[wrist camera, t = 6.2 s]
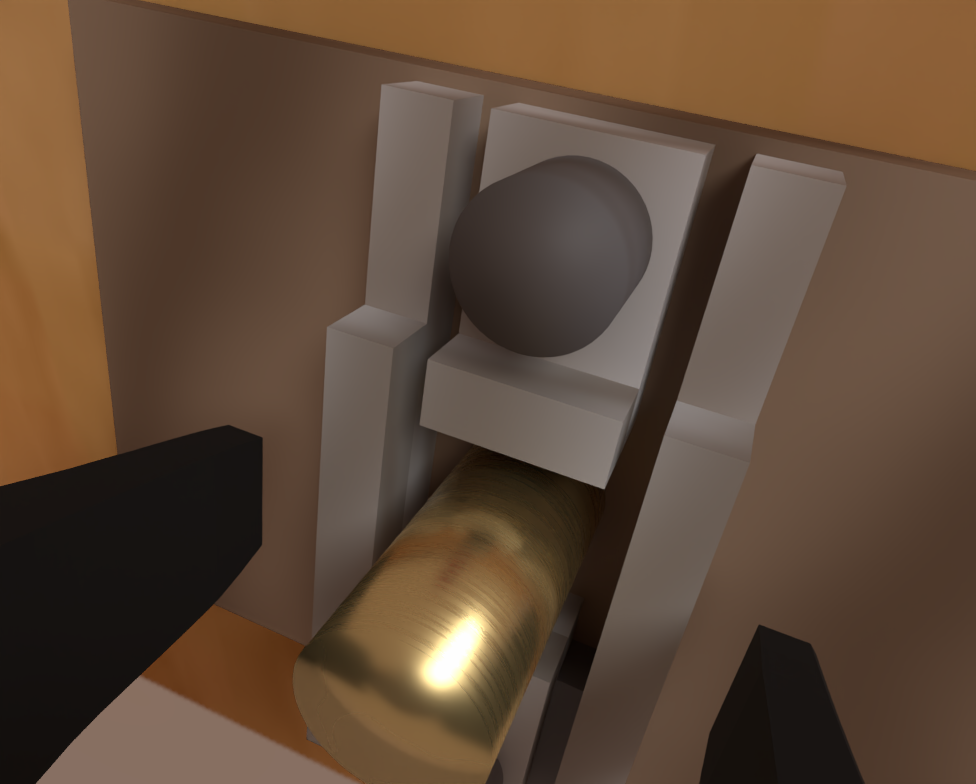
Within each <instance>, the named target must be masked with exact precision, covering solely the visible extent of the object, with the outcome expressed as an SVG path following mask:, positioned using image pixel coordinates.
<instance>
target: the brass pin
mask: <svg viewBox="0 0 976 784" xmlns="http://www.w3.org/2000/svg"><path fill="white" fill-rule="evenodd" d="M605 501H606V493H605V489H602V488H599V487H596V486H593V485H590V484H587V483H584V482H581V481H579V480H576V479H573V478H570V477H567V476H564V475H561V474H559V473H556V472H553V471H550V470H547V469H544V468H541V467H538V466H536V465H533V464H530V463H527V462H524V461H521V460H518V459H515V458H513V457H510V456H507V455H504V454H501V453H498V452H495V451H492V450H490V449H487V448H484V447H481V446H478V445H475V444H474V445H473V446H472V448H471V449H470V450H469V451H468V452H467V454H466V455H465V456H464V457H463V458H462V460H461V461H460V462H459V463H458V464H457V466H456V467H455V468H454V469H453V470H452V472H451V473H450V474H449V475H448V476H447V478H446V479H445V480H444V481H443V482H442V484H441V485H440V486H439V487H438V488H437V490H436V491H435V492H434V493H433V494H432V496H431V497H430V498H429V499H428V500H427V502H426V503H425V504H424V505H423V506H422V508H421V509H420V510H419V511H418V512H417V514H416V515H415V516H414V517H413V518H412V520H411V521H410V522H409V523H408V524H407V525H406V527H405V528H404V529H403V530H402V531H401V533H400V534H399V535H398V536H397V537H396V539H395V540H394V541H393V542H392V543H391V545H390V546H389V547H388V548H387V549H386V551H385V552H384V553H383V554H382V555H381V557H380V558H379V559H378V560H377V561H376V563H375V564H374V565H373V566H372V567H371V569H370V570H369V571H368V572H367V573H366V575H365V576H364V577H363V578H362V579H361V581H360V582H359V583H358V584H357V585H356V587H355V588H354V589H353V590H352V591H351V593H350V594H349V595H348V596H347V597H346V599H345V600H344V601H343V602H342V603H341V605H340V606H339V607H338V608H337V609H336V611H335V612H334V613H333V614H332V615H331V617H330V618H329V619H328V620H327V621H326V623H325V624H324V625H323V626H322V627H321V629H320V630H319V631H318V632H317V633H316V634H315V636H314V637H313V638H312V639H311V640H310V642H309V643H308V644H307V645H306V646H305V648H304V649H303V650H302V652H301V653H300V655H299V656H298V658H297V660H296V663H295V666H294V671H293V689H294V695H295V699H296V702H297V705H298V708H299V710H300V713H301V715H302V717H303V719H304V721H305V723H306V725H307V726H308V728H309V729H310V731H311V732H312V734H313V735H314V737H315V738H316V739H317V741H318V742H319V743H320V744H321V746H322V747H323V748H324V749H325V750H326V751H327V752H328V753H329V754H330V755H331V756H332V757H333V758H334V759H335V760H336V761H337V762H338V763H339V764H340V765H341V766H342V767H344V768H345V769H346V770H347V771H349V772H350V773H351V774H353V775H354V776H356V777H357V778H358V779H360V780H361V781H363V782H365V783H366V784H485V783H486V781H487V779H488V776H489V774H490V772H491V770H492V767H493V765H494V763H495V760H496V758H497V756H498V753H499V751H500V749H501V747H502V744H503V742H504V740H505V737H506V735H507V733H508V731H509V728H510V726H511V724H512V721H513V719H514V717H515V715H516V712H517V710H518V708H519V705H520V703H521V701H522V699H523V696H524V694H525V692H526V689H527V687H528V685H529V683H530V680H531V678H532V676H533V673H534V671H535V669H536V666H537V664H538V662H539V660H540V657H541V655H542V653H543V650H544V648H545V646H546V644H547V641H548V639H549V637H550V634H551V632H552V630H553V628H554V625H555V623H556V621H557V618H558V616H559V614H560V612H561V609H562V607H563V605H564V602H565V600H566V598H567V596H568V593H569V591H570V589H571V586H572V584H573V582H574V579H575V577H576V575H577V573H578V570H579V568H580V566H581V563H582V561H583V559H584V557H585V554H586V552H587V550H588V547H589V545H590V543H591V541H592V538H593V536H594V534H595V531H596V529H597V527H598V525H599V522H600V520H601V518H602V515H603V512H604V508H605Z"/></svg>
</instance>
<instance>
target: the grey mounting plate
mask: <svg viewBox="0 0 976 784" xmlns="http://www.w3.org/2000/svg"><path fill="white" fill-rule="evenodd" d="M68 7H69V16H70V25H71V34H72V43H73V52H74V61H75V70H76V79H77V88H78V98H79V107H80V116H81V125H82V134H83V143H84V152H85V161H86V170H87V179H88V189H89V198H90V207H91V216H92V225H93V234H94V243H95V252H96V261H97V270H98V279H99V289H100V298H101V307H102V316H103V325H104V334H105V343H106V352H107V361H108V370H109V379H110V389H111V398H112V407H113V416H114V425H115V434H116V443H117V452H118V455H119V454H122V453H126V452H129V451H133V450H136V449H139V448H143V447H146V446H150V445H153V444H156V443H160V442H163V441H167V440H170V439H174V438H177V437H181V436H184V435H188V434H192V433H196V432H199V431H203V430H207V429H211V428H216V427H220V426H225V425H231V426H233V427H236V428H239V429H241V430H244V431H247V432H249V433H252V434H255V435H257V436H260V437H263V493H262V546H261V547H260V548H259V550H258V551H257V552H256V554H255V555H254V556H253V557H252V559H251V560H250V561H249V563H248V564H247V565H246V567H245V568H244V569H243V570H242V572H241V573H240V574H239V576H238V577H237V578H236V579H235V580H234V582H233V583H232V584H231V585H230V586H229V588H228V589H227V590H226V591H225V592H224V594H223V595H222V596H221V597H220V598H219V599H218V600H217V601H216V602H215V603H214V604H215V605H217V606H219V607H221V608H224V609H226V610H228V611H230V612H232V613H235V614H237V615H239V616H241V617H243V618H246V619H248V620H250V621H252V622H254V623H257V624H259V625H261V626H263V627H265V628H268V629H270V630H272V631H274V632H276V633H279V634H281V635H283V636H285V637H287V638H289V639H292V640H294V641H296V642H298V643H300V644H303V645H305V646H306V645H307V644H308V643H309V642H310V640H311V639H312V638H313V637H314V636H315V634H316V633H317V632H318V631H319V630H320V629H321V627H322V626H323V625H324V624H325V623H326V621H327V620H328V619H329V618H330V617H331V615H332V614H333V613H334V612H335V611H336V609H337V608H338V607H339V606H340V605H341V603H342V602H343V601H344V600H345V599H346V597H347V596H348V595H349V594H350V593H351V591H352V590H353V589H354V588H355V587H356V585H357V584H358V583H359V582H360V581H361V579H362V578H363V577H364V576H365V575H366V573H367V572H368V571H369V570H370V569H371V567H372V566H373V565H374V564H375V563H376V561H377V560H378V559H379V558H380V557H381V555H382V554H383V553H384V552H385V551H386V549H387V548H388V547H389V546H390V545H391V543H392V542H393V541H394V540H395V539H396V537H397V536H398V535H399V534H400V533H401V531H402V530H403V529H404V528H405V527H406V525H407V524H408V523H409V522H410V521H411V520H412V518H413V517H414V516H415V515H416V514H417V512H418V511H419V510H420V509H421V508H422V506H423V505H424V504H425V503H426V502H427V500H428V499H429V498H430V497H431V496H432V494H433V493H434V492H435V491H436V490H437V488H438V487H439V486H440V485H441V484H442V482H443V481H444V480H445V479H446V478H447V476H448V475H449V474H450V473H451V472H452V470H453V469H454V468H455V467H456V466H457V464H458V463H459V462H460V461H461V460H462V458H463V457H464V456H465V455H466V454H467V452H468V451H469V450H470V449H471V448H472V446H473V445H474V444H475V445H478V446H481V447H484V448H487V449H490V450H492V451H495V452H498V453H501V454H504V455H507V456H510V457H513V458H515V459H518V460H521V461H524V462H527V463H530V464H533V465H536V466H538V467H541V468H544V469H547V470H550V471H553V472H556V473H559V474H561V475H564V476H567V477H570V478H573V479H576V480H579V481H581V482H584V483H587V484H590V485H593V486H596V487H599V488H602V489H605V493H606V501H605V508H604V512H603V515H602V518H601V520H600V522H599V525H598V527H597V529H596V531H595V534H594V536H593V538H592V541H591V543H590V545H589V547H588V550H587V552H586V554H585V557H584V559H583V561H582V563H581V566H580V568H579V570H578V573H577V575H576V577H575V579H574V582H573V584H572V586H571V589H570V591H569V593H568V596H567V598H566V600H565V602H564V605H563V607H562V609H561V612H560V614H559V616H558V618H557V621H556V623H555V625H554V628H553V630H552V632H551V634H550V637H549V639H548V641H547V644H546V646H545V648H544V650H543V653H542V655H541V657H540V660H539V662H538V664H537V666H536V669H535V671H534V673H533V676H532V678H531V680H530V683H529V685H528V687H527V689H526V692H525V694H524V696H523V699H522V701H521V703H520V705H519V708H518V710H517V712H516V715H515V717H514V719H513V721H512V724H511V726H510V728H509V731H508V733H507V735H506V737H505V740H504V742H503V744H502V747H501V749H500V751H499V753H498V756H497V758H496V760H495V763H494V765H493V767H492V770H491V772H490V774H489V776H488V779H487V781H486V783H485V784H699V782H700V776H701V771H702V767H703V762H704V757H705V752H706V747H707V742H708V737H709V733H710V731H711V728H712V726H713V724H714V722H715V720H716V717H717V715H718V713H719V711H720V709H721V706H722V704H723V702H724V700H725V698H726V695H727V693H728V691H729V689H730V687H731V684H732V682H733V680H734V678H735V676H736V673H737V671H738V669H739V667H740V665H741V662H742V660H743V658H744V656H745V654H746V651H747V649H748V647H749V645H750V643H751V640H752V638H753V636H754V634H755V632H756V629H757V627H758V625H759V624H760V625H762V626H765V627H768V628H770V629H773V630H776V631H778V632H781V633H784V634H786V635H789V636H792V637H794V638H797V639H800V640H802V641H805V642H808V643H810V644H811V645H812V647H813V649H814V651H815V653H816V655H817V658H818V661H819V664H820V667H821V669H822V672H823V675H824V678H825V681H826V684H827V687H828V689H829V692H830V695H831V698H832V701H833V703H834V706H835V709H836V711H837V714H838V717H839V719H840V722H841V725H842V727H843V730H844V732H845V735H846V738H847V740H848V743H849V745H850V748H851V751H852V753H853V756H854V758H855V761H856V763H857V765H858V768H859V770H860V773H861V775H862V778H863V780H864V782H865V784H976V171H972V170H967V169H962V168H957V167H952V166H947V165H943V164H938V163H933V162H928V161H923V160H918V159H913V158H908V157H903V156H898V155H894V154H889V153H884V152H879V151H874V150H869V149H864V148H859V147H854V146H850V145H845V144H840V143H835V142H830V141H825V140H820V139H815V138H810V137H805V136H801V135H796V134H791V133H786V132H781V131H776V130H771V129H766V128H761V127H757V126H752V125H747V124H742V123H737V122H732V121H727V120H722V119H717V118H712V117H708V116H703V115H698V114H693V113H688V112H683V111H678V110H673V109H668V108H664V107H659V106H654V105H649V104H644V103H639V102H634V101H629V100H624V99H619V98H615V97H610V96H605V95H600V94H595V93H590V92H585V91H580V90H575V89H571V88H566V87H561V86H556V85H551V84H546V83H541V82H536V81H531V80H526V79H522V78H517V77H512V76H507V75H502V74H497V73H492V72H487V71H482V70H478V69H473V68H468V67H463V66H458V65H453V64H448V63H443V62H438V61H433V60H429V59H424V58H419V57H414V56H409V55H404V54H399V53H394V52H389V51H384V50H380V49H375V48H370V47H365V46H360V45H355V44H350V43H345V42H340V41H336V40H331V39H326V38H321V37H316V36H311V35H306V34H301V33H296V32H291V31H287V30H282V29H277V28H272V27H267V26H262V25H257V24H252V23H247V22H243V21H238V20H233V19H228V18H223V17H218V16H213V15H208V14H203V13H198V12H194V11H189V10H184V9H179V8H174V7H169V6H164V5H159V4H154V3H150V2H145V1H140V0H68ZM307 740H309V741H311V742H313V743H316V744H318V745H320V746H321V744H320V743H319V742H318V741H317V739H316V738H315V737H314V735H313V734H312V732H311V731H310V729H309V728H308V726H307Z"/></svg>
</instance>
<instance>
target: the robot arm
mask: <svg viewBox="0 0 976 784" xmlns="http://www.w3.org/2000/svg"><path fill="white" fill-rule="evenodd" d="M262 493H263V437H260V436H257V435H255V434H252V433H249V432H247V431H244V430H241V429H239V428H236V427H233V426H231V425H225V426H220V427H216V428H211V429H207V430H203V431H199V432H196V433H192V434H188V435H184V436H181V437H177V438H174V439H170V440H167V441H163V442H160V443H156V444H153V445H150V446H146V447H143V448H139V449H136V450H133V451H129V452H126V453H122V454H119V455H115V456H112V457H108V458H105V459H101V460H98V461H94V462H91V463H88V464H84V465H81V466H77V467H74V468H70V469H66V470H62V471H59V472H55V473H51V474H47V475H43V476H39V477H35V478H31V479H27V480H23V481H20V482H16V483H12V484H8V485H4V486H0V784H36V782H37V781H38V780H39V779H40V778H41V777H42V776H43V774H44V773H45V772H46V771H47V770H48V769H49V768H50V767H51V765H52V764H53V763H54V762H55V761H56V760H57V759H58V757H59V756H60V755H61V754H62V753H63V752H64V750H65V749H66V748H67V747H68V746H69V745H70V744H71V743H72V741H73V740H74V739H75V738H76V737H77V736H78V735H79V734H80V733H81V732H82V731H83V730H84V729H85V728H86V727H87V726H88V725H89V724H90V723H91V722H92V721H93V720H94V719H95V718H96V717H97V716H98V715H99V714H100V713H101V712H102V711H103V710H104V709H105V708H106V707H107V706H108V705H109V704H110V703H111V702H112V701H113V700H114V699H115V698H117V697H118V696H119V695H120V694H121V693H122V692H123V691H124V690H125V689H126V688H127V687H128V686H129V685H130V684H131V683H132V682H133V681H134V680H135V679H137V678H138V677H139V676H140V675H141V674H142V673H143V672H144V671H145V670H146V669H147V668H148V667H149V666H150V665H151V664H152V663H153V662H154V661H155V660H156V659H158V658H159V657H160V656H161V655H162V654H163V653H164V652H165V651H166V650H167V649H168V648H169V647H170V646H171V645H172V644H173V643H174V642H175V641H176V640H177V639H179V638H180V637H181V636H182V635H183V634H184V633H185V632H186V631H187V630H188V629H189V628H190V627H191V626H192V625H193V624H194V623H195V622H196V621H197V620H198V619H199V618H200V617H201V616H202V615H203V614H204V613H205V612H206V611H207V610H208V609H209V608H210V607H211V606H212V605H213V604H214V603H215V602H216V601H217V600H218V599H219V598H220V597H221V596H222V595H223V594H224V592H225V591H226V590H227V589H228V588H229V586H230V585H231V584H232V583H233V582H234V580H235V579H236V578H237V577H238V576H239V574H240V573H241V572H242V570H243V569H244V568H245V567H246V565H247V564H248V563H249V561H250V560H251V559H252V557H253V556H254V555H255V554H256V552H257V551H258V550H259V548H260V547H261V546H262ZM699 784H865V782H864V780H863V778H862V775H861V773H860V770H859V768H858V765H857V763H856V761H855V758H854V756H853V753H852V751H851V748H850V745H849V743H848V740H847V738H846V735H845V732H844V730H843V727H842V725H841V722H840V719H839V717H838V714H837V711H836V709H835V706H834V703H833V701H832V698H831V695H830V692H829V689H828V687H827V684H826V681H825V678H824V675H823V672H822V669H821V667H820V664H819V661H818V658H817V655H816V653H815V651H814V649H813V647H812V645H811V644H810V643H808V642H805V641H802V640H800V639H797V638H794V637H792V636H789V635H786V634H784V633H781V632H778V631H776V630H773V629H770V628H768V627H765V626H762V625H760V624H759V625H758V627H757V629H756V632H755V634H754V636H753V638H752V640H751V643H750V645H749V647H748V649H747V651H746V654H745V656H744V658H743V660H742V662H741V665H740V667H739V669H738V671H737V673H736V676H735V678H734V680H733V682H732V684H731V687H730V689H729V691H728V693H727V695H726V698H725V700H724V702H723V704H722V706H721V709H720V711H719V713H718V715H717V717H716V720H715V722H714V724H713V726H712V728H711V731H710V733H709V737H708V742H707V747H706V752H705V757H704V762H703V767H702V771H701V776H700V782H699Z"/></svg>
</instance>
